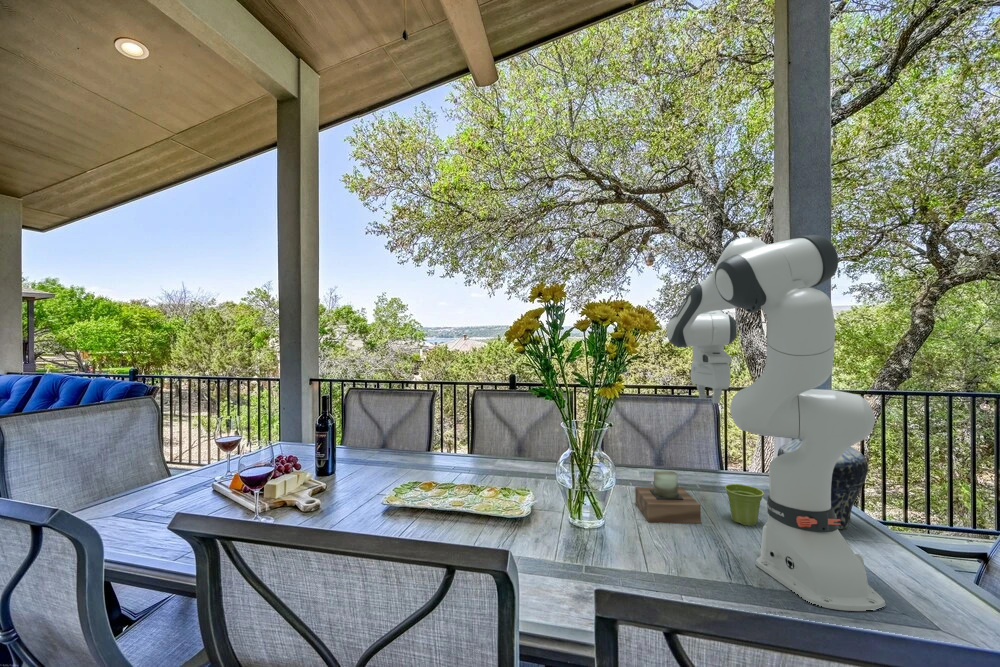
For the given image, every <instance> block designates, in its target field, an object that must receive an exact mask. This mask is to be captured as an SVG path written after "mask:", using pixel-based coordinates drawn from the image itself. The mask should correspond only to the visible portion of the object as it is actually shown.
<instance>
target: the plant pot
mask: <svg viewBox="0 0 1000 667" xmlns="http://www.w3.org/2000/svg"><path fill="white" fill-rule="evenodd" d="M724 490H725V491H726V495H727V498H728V504H729V508H730V516H731V520H732V521H733V522H735V523H739V524H741V525H744V526H755V525H757V524H758V520H759V514H760V513H759V512H760V506H761V501H762V499H763V496H764V495H765V493H764V491H763V490H762V489H760V488H758V487H756V486H755V487H754V486H751V485H747V484H741V483H739V484H738V483H730V484H726V485H724Z"/></svg>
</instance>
